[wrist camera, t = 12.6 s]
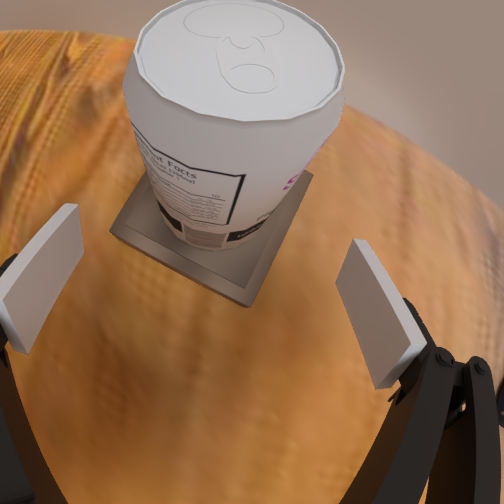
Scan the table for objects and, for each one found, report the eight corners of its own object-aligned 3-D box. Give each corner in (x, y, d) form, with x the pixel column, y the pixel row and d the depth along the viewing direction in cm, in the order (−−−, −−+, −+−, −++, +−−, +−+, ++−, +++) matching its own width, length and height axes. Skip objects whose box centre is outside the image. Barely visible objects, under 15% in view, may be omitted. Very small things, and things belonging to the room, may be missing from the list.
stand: (118, 239, 24) (107, 229, 21) (188, 130, 27) (188, 110, 24) (244, 307, 25) (251, 307, 22) (302, 187, 28) (314, 173, 24)
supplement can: (155, 159, 22) (123, -3, 8) (257, 146, 24) (317, -6, 10) (167, 260, 21) (109, 161, 7) (279, 242, 23) (396, 138, 8)
